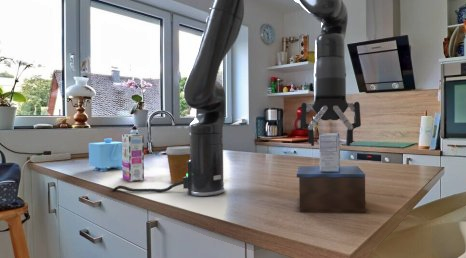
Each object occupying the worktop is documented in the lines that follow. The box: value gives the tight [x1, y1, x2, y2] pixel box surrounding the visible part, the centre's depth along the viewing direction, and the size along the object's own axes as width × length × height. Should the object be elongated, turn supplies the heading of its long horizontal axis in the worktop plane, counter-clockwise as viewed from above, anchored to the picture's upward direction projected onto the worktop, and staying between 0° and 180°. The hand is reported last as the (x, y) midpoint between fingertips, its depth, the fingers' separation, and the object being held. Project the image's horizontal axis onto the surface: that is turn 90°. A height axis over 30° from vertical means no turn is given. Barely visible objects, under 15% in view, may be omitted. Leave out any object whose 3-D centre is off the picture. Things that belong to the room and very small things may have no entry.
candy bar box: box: [121, 134, 145, 183], centre depth 107 cm, size 11×5×16 cm, turn 42°
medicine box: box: [318, 132, 341, 172], centre depth 71 cm, size 8×4×9 cm, turn 169°
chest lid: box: [296, 165, 366, 179], centre depth 71 cm, size 15×12×1 cm
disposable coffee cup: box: [165, 145, 190, 184], centre depth 102 cm, size 10×10×12 cm
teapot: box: [88, 137, 122, 172], centre depth 131 cm, size 22×11×14 cm, turn 52°
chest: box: [298, 177, 366, 214], centre depth 72 cm, size 15×12×8 cm
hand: (330, 145), depth 71 cm, fingers open, 8 cm apart
